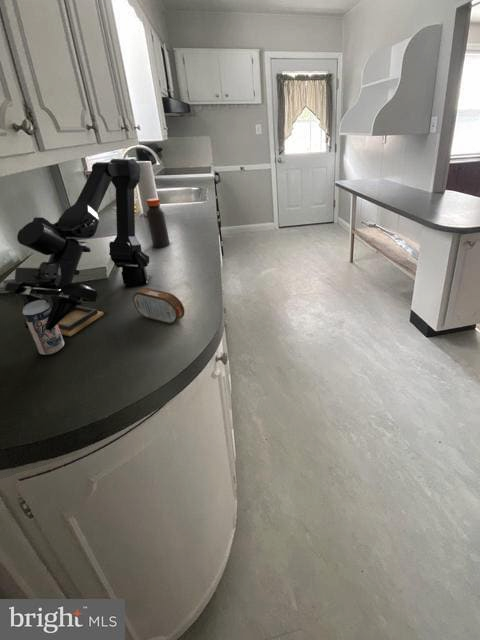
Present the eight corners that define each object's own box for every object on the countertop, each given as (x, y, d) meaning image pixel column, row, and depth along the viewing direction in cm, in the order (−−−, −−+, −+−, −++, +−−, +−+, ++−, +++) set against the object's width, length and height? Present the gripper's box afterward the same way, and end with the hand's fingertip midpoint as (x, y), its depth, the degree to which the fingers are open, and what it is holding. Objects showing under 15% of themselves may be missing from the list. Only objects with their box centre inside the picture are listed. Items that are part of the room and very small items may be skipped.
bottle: (154, 243, 135) (145, 198, 127) (170, 241, 136) (162, 197, 128) (152, 248, 128) (142, 201, 121) (169, 246, 130) (160, 200, 122)
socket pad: (76, 308, 86) (74, 302, 85) (104, 314, 83) (102, 308, 82) (40, 329, 77) (37, 323, 76) (70, 336, 74) (67, 329, 73)
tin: (187, 321, 79) (182, 293, 76) (179, 328, 76) (173, 299, 73) (143, 310, 84) (137, 283, 81) (134, 316, 82) (127, 289, 78)
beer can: (50, 357, 67) (32, 312, 63) (34, 354, 68) (15, 309, 64) (70, 344, 71) (54, 300, 67) (54, 341, 73) (37, 297, 68)
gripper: (-5, 247, 66) (-40, 319, 60) (72, 250, 63) (44, 326, 57) (40, 265, 76) (13, 328, 70) (107, 268, 73) (86, 334, 68)
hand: (37, 329), depth 66 cm, fingers closed on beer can, 5 cm apart
